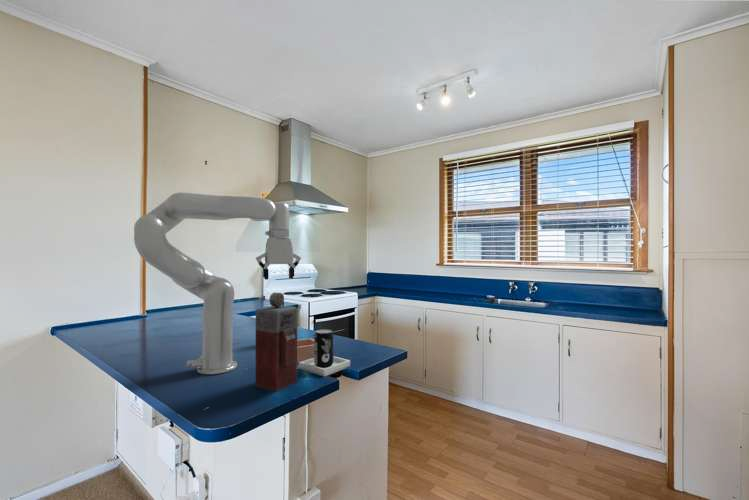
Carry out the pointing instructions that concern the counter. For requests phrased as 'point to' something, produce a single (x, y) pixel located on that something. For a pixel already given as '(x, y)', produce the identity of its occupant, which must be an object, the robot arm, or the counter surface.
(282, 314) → the red decanter
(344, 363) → the tray
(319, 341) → the beverage can
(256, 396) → the counter surface
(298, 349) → the holder
